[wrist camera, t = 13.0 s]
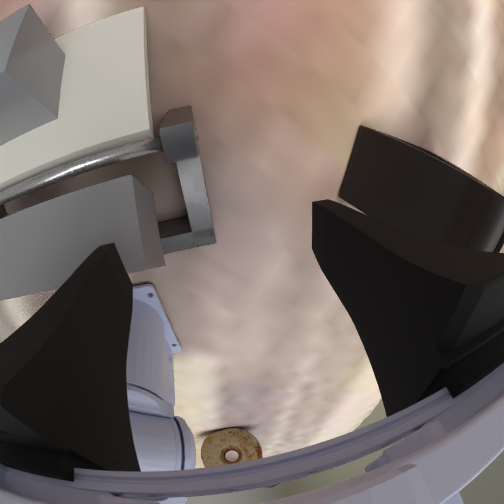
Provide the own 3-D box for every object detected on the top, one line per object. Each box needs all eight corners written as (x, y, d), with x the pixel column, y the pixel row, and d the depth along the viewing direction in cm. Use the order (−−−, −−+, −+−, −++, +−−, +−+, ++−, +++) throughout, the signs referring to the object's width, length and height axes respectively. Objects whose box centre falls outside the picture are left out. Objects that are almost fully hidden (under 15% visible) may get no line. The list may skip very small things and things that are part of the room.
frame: (214, 225, 22) (226, 285, 16) (22, 270, 20) (-7, 326, 14) (192, 105, 16) (194, 121, 11) (-19, 181, 15) (-67, 224, 9)
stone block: (58, 118, 11) (4, 70, 6) (-3, 147, 10) (-59, 118, 5) (65, 55, 11) (29, 3, 6) (7, 84, 10) (-35, 47, 5)
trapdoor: (183, 261, 15) (170, 263, 11) (-2, 300, 14) (-39, 308, 10) (154, 44, 15) (143, 6, 11) (-4, 110, 14) (-32, 91, 10)
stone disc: (255, 421, 44) (268, 472, 36) (255, 428, 46) (268, 476, 38) (195, 430, 43) (203, 482, 35) (199, 436, 45) (207, 485, 37)
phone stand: (336, 195, 22) (432, 296, 13) (359, 123, 19) (486, 190, 9) (412, 210, 25) (498, 290, 15) (434, 153, 22) (536, 218, 12)
